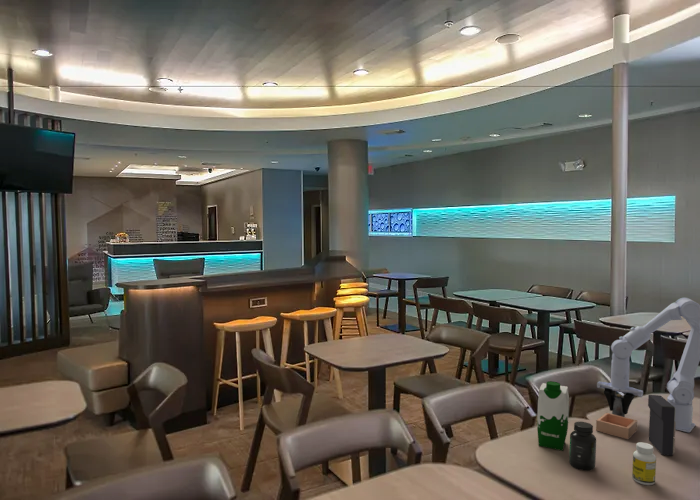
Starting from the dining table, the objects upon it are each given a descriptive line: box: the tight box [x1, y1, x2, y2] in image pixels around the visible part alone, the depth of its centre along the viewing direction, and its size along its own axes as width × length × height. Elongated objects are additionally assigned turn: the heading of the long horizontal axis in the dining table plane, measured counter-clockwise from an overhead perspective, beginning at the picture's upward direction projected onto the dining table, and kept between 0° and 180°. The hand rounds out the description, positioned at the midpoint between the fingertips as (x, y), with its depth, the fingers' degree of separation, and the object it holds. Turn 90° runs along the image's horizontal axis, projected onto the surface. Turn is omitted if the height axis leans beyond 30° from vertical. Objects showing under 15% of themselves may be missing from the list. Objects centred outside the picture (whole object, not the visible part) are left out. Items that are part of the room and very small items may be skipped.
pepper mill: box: [611, 393, 626, 417], centre depth 182 cm, size 4×4×9 cm
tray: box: [595, 412, 638, 440], centre depth 171 cm, size 10×10×4 cm
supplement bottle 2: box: [631, 441, 657, 486], centre depth 138 cm, size 5×5×10 cm
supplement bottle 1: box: [568, 421, 597, 472], centre depth 146 cm, size 7×7×12 cm
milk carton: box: [536, 381, 570, 451], centre depth 160 cm, size 9×9×20 cm
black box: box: [647, 394, 676, 457], centre depth 158 cm, size 11×4×15 cm, turn 168°
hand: (618, 411), depth 182 cm, fingers closed on pepper mill, 4 cm apart
